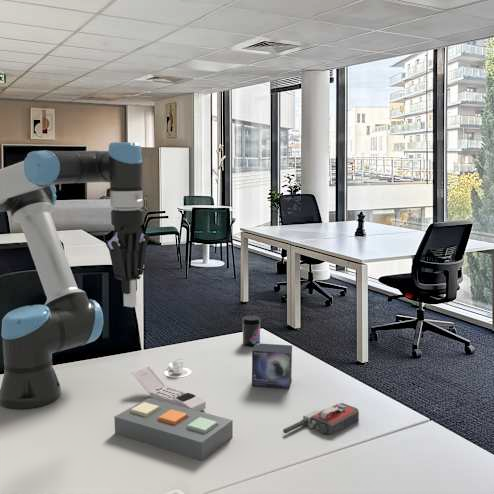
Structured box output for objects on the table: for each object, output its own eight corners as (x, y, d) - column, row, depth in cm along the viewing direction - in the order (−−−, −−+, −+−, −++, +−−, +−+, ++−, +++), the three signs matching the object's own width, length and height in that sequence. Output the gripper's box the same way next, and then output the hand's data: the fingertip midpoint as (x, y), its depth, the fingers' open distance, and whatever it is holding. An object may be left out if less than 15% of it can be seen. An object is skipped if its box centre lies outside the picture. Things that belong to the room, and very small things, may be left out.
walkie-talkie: (334, 409, 148) (280, 435, 134) (334, 392, 148) (280, 417, 134) (363, 420, 142) (310, 449, 128) (364, 403, 141) (310, 430, 128)
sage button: (187, 444, 129) (187, 425, 128) (200, 435, 133) (199, 417, 132) (205, 449, 127) (205, 430, 126) (217, 440, 131) (217, 421, 130)
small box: (250, 387, 161) (251, 350, 160) (254, 378, 168) (255, 342, 166) (289, 389, 160) (290, 352, 158) (292, 380, 166) (292, 344, 164)
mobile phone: (147, 366, 161) (213, 389, 145) (148, 386, 162) (213, 412, 146) (130, 372, 157) (195, 397, 140) (131, 393, 158) (196, 421, 141)
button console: (115, 433, 135) (114, 416, 134) (149, 413, 145) (148, 397, 144) (202, 460, 123) (201, 442, 122) (232, 436, 133) (232, 420, 132)
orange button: (158, 435, 133) (158, 416, 132) (171, 427, 137) (171, 409, 136) (175, 440, 131) (175, 421, 130) (187, 432, 135) (187, 413, 134)
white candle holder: (167, 367, 177) (166, 354, 176) (193, 368, 177) (193, 355, 176) (161, 378, 168) (161, 365, 168) (189, 379, 168) (189, 365, 167)
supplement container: (246, 347, 194) (246, 321, 193) (240, 342, 199) (240, 316, 198) (262, 345, 196) (262, 319, 195) (256, 340, 201) (256, 314, 200)
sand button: (131, 427, 137) (131, 409, 136) (144, 419, 141) (144, 402, 140) (147, 432, 135) (146, 413, 134) (159, 424, 139) (159, 406, 138)
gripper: (120, 211, 132) (123, 314, 136) (157, 207, 143) (159, 302, 147) (95, 210, 136) (99, 310, 140) (133, 205, 147) (136, 298, 151)
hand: (130, 305), depth 143 cm, fingers closed
